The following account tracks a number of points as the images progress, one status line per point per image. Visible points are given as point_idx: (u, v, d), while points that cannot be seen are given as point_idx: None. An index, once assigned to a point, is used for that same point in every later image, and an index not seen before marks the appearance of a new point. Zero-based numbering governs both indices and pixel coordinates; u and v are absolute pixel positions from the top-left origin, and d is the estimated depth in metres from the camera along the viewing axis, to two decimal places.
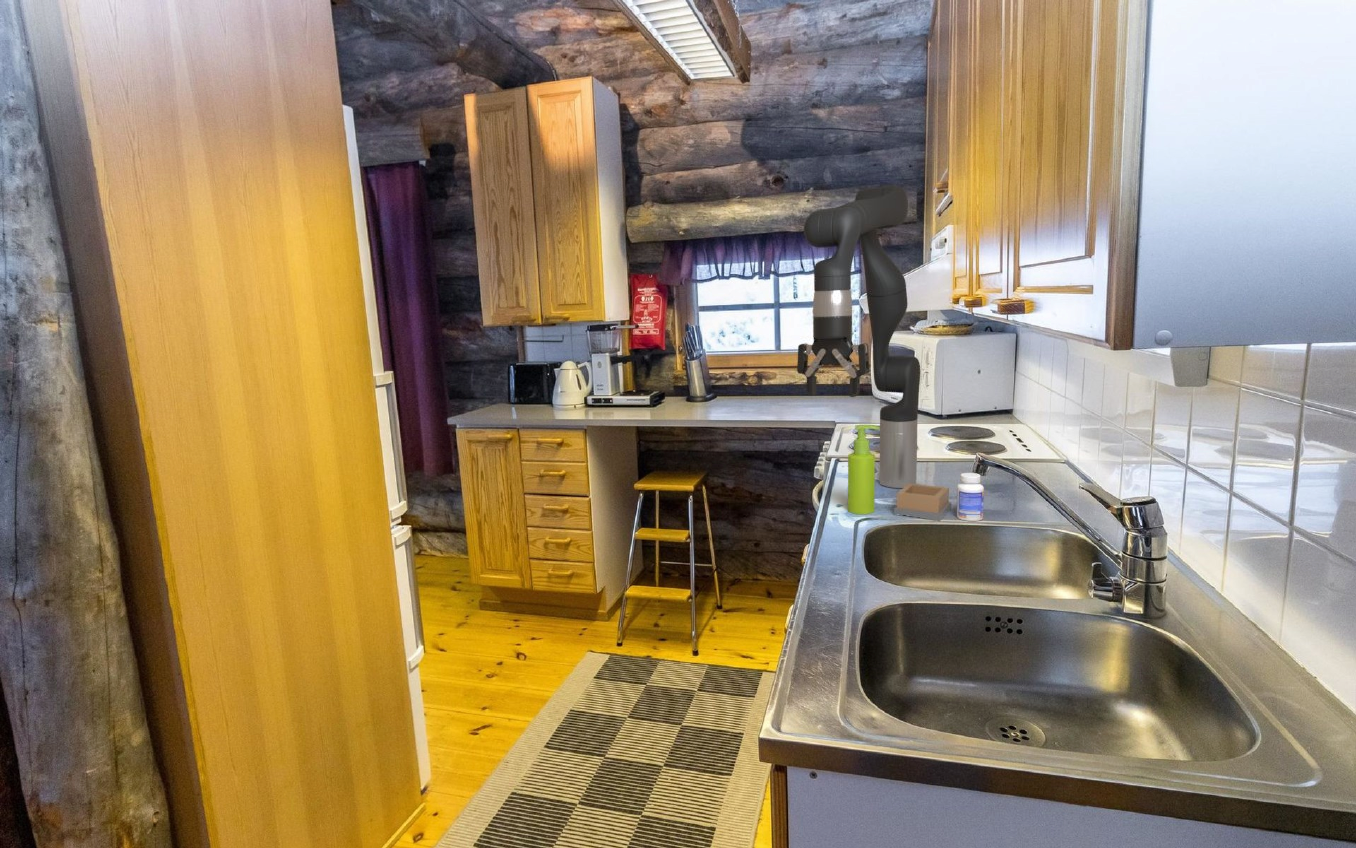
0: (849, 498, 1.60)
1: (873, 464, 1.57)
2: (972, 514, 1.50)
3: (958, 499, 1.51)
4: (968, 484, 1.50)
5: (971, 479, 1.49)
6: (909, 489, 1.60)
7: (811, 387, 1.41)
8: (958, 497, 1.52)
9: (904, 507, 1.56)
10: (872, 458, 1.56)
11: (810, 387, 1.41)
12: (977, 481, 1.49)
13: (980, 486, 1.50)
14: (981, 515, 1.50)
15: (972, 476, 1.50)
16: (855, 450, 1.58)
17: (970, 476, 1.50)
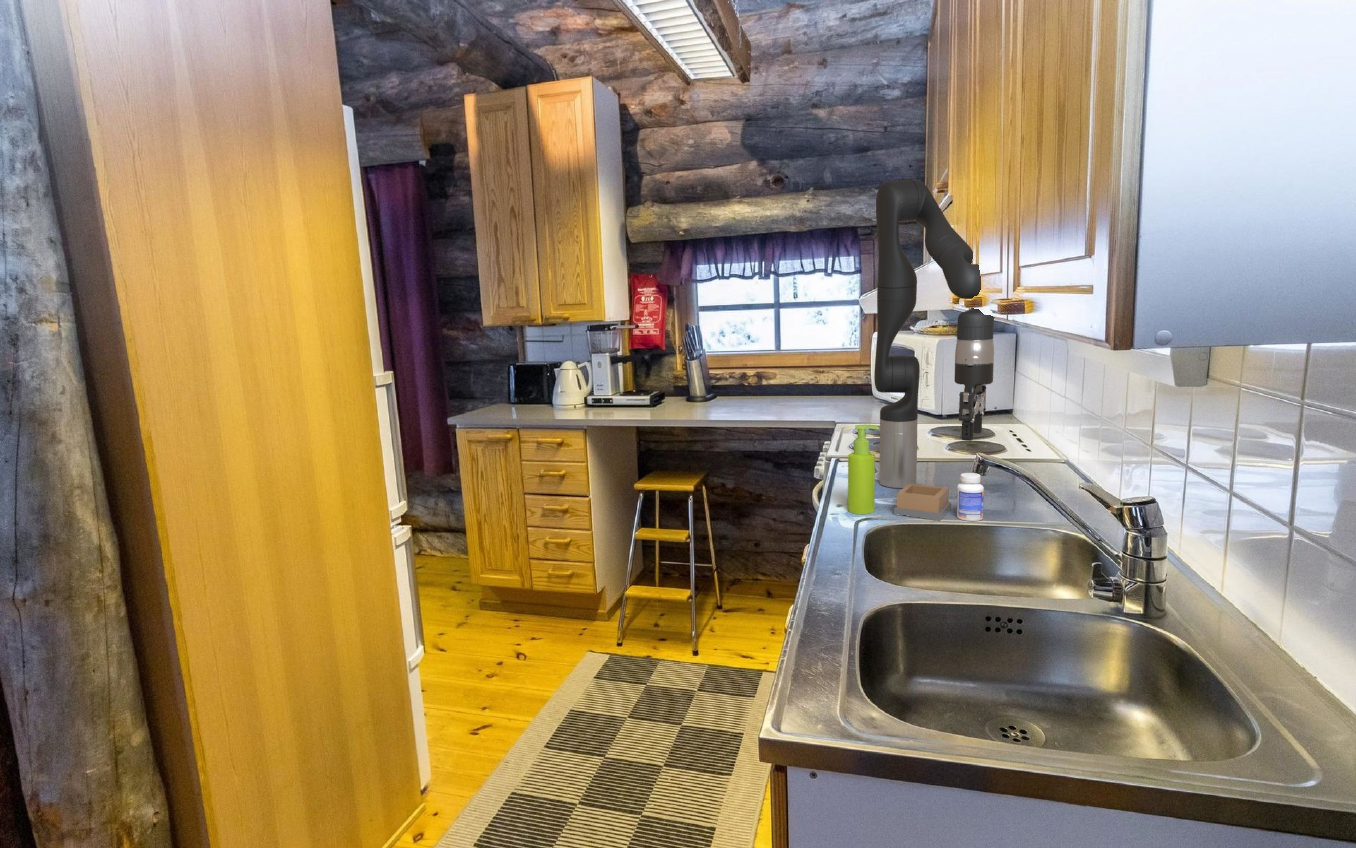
0: (849, 498, 1.60)
1: (873, 464, 1.57)
2: (972, 514, 1.50)
3: (958, 499, 1.51)
4: (968, 484, 1.50)
5: (971, 479, 1.49)
6: (909, 489, 1.60)
7: (973, 432, 1.45)
8: (958, 497, 1.52)
9: (904, 507, 1.56)
10: (872, 458, 1.56)
11: (973, 432, 1.45)
12: (977, 481, 1.49)
13: (980, 486, 1.50)
14: (981, 515, 1.50)
15: (972, 476, 1.50)
16: (855, 450, 1.58)
17: (970, 476, 1.50)
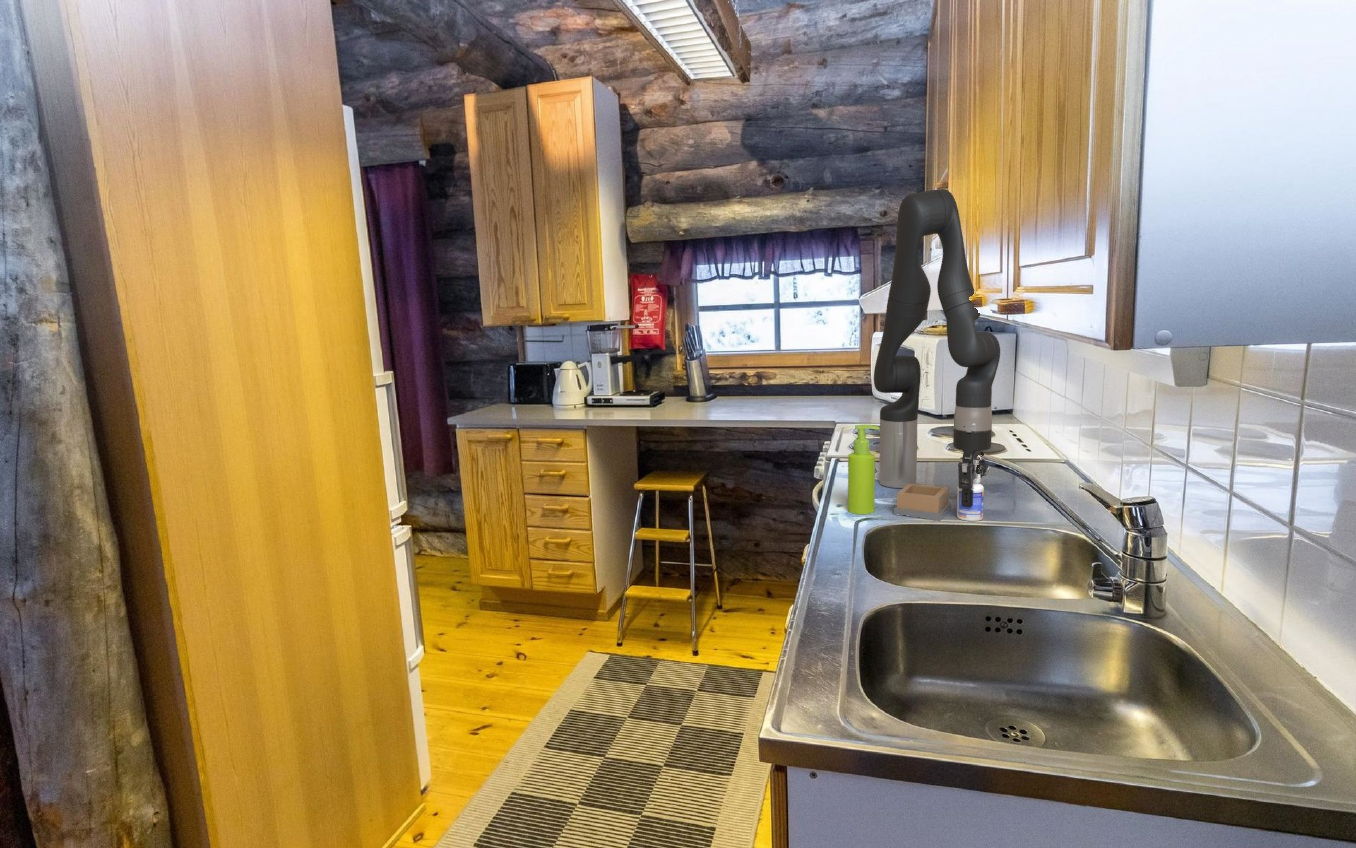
0: (849, 498, 1.60)
1: (873, 464, 1.57)
2: (972, 513, 1.50)
3: (958, 499, 1.51)
4: None
5: None
6: (909, 489, 1.60)
7: (972, 499, 1.49)
8: (958, 497, 1.52)
9: (904, 507, 1.56)
10: (872, 458, 1.56)
11: (972, 499, 1.49)
12: (977, 481, 1.49)
13: (980, 486, 1.50)
14: (981, 515, 1.50)
15: None
16: (855, 450, 1.58)
17: None
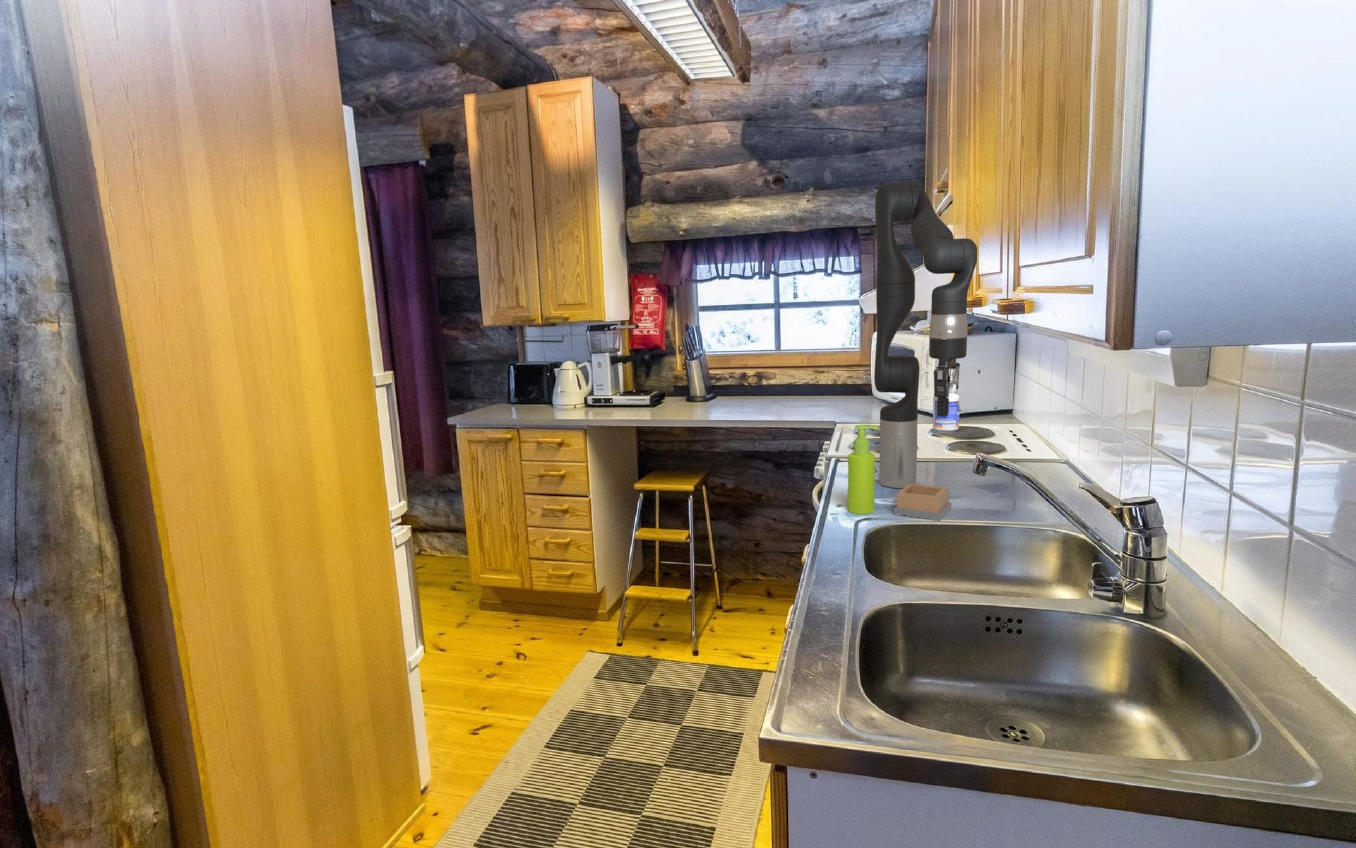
0: (849, 498, 1.60)
1: (873, 464, 1.57)
2: (948, 423, 1.50)
3: (934, 409, 1.51)
4: None
5: None
6: (909, 489, 1.60)
7: (948, 408, 1.49)
8: (934, 407, 1.52)
9: (904, 507, 1.56)
10: (872, 458, 1.56)
11: (948, 408, 1.49)
12: (953, 390, 1.49)
13: (956, 395, 1.50)
14: (957, 424, 1.50)
15: None
16: (855, 450, 1.58)
17: None
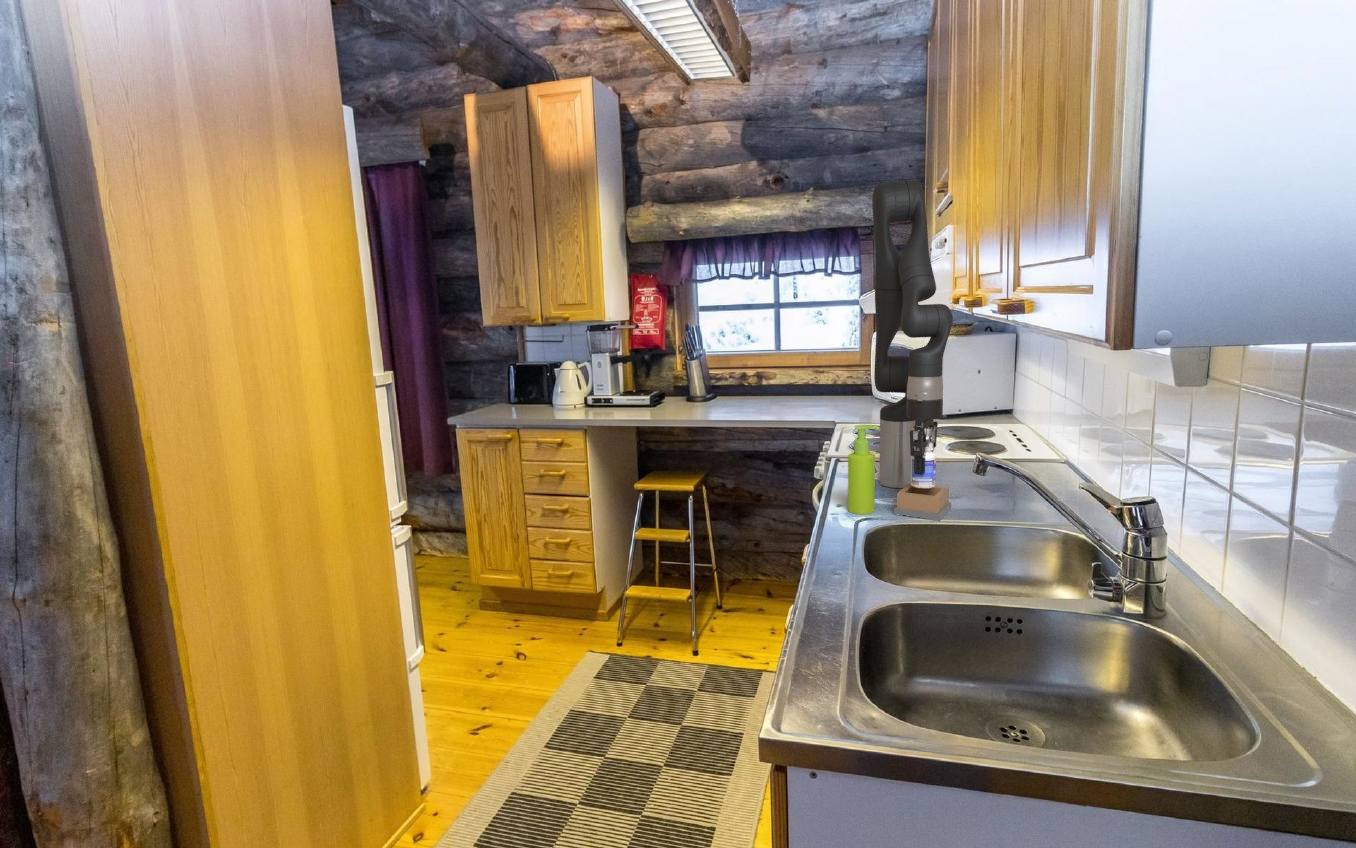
0: (849, 498, 1.60)
1: (873, 464, 1.57)
2: (924, 481, 1.54)
3: (911, 467, 1.56)
4: None
5: None
6: (909, 489, 1.60)
7: (924, 467, 1.53)
8: (911, 465, 1.56)
9: (904, 507, 1.56)
10: (872, 458, 1.56)
11: (924, 467, 1.53)
12: (929, 449, 1.54)
13: (932, 454, 1.54)
14: (933, 482, 1.55)
15: None
16: (855, 450, 1.58)
17: None
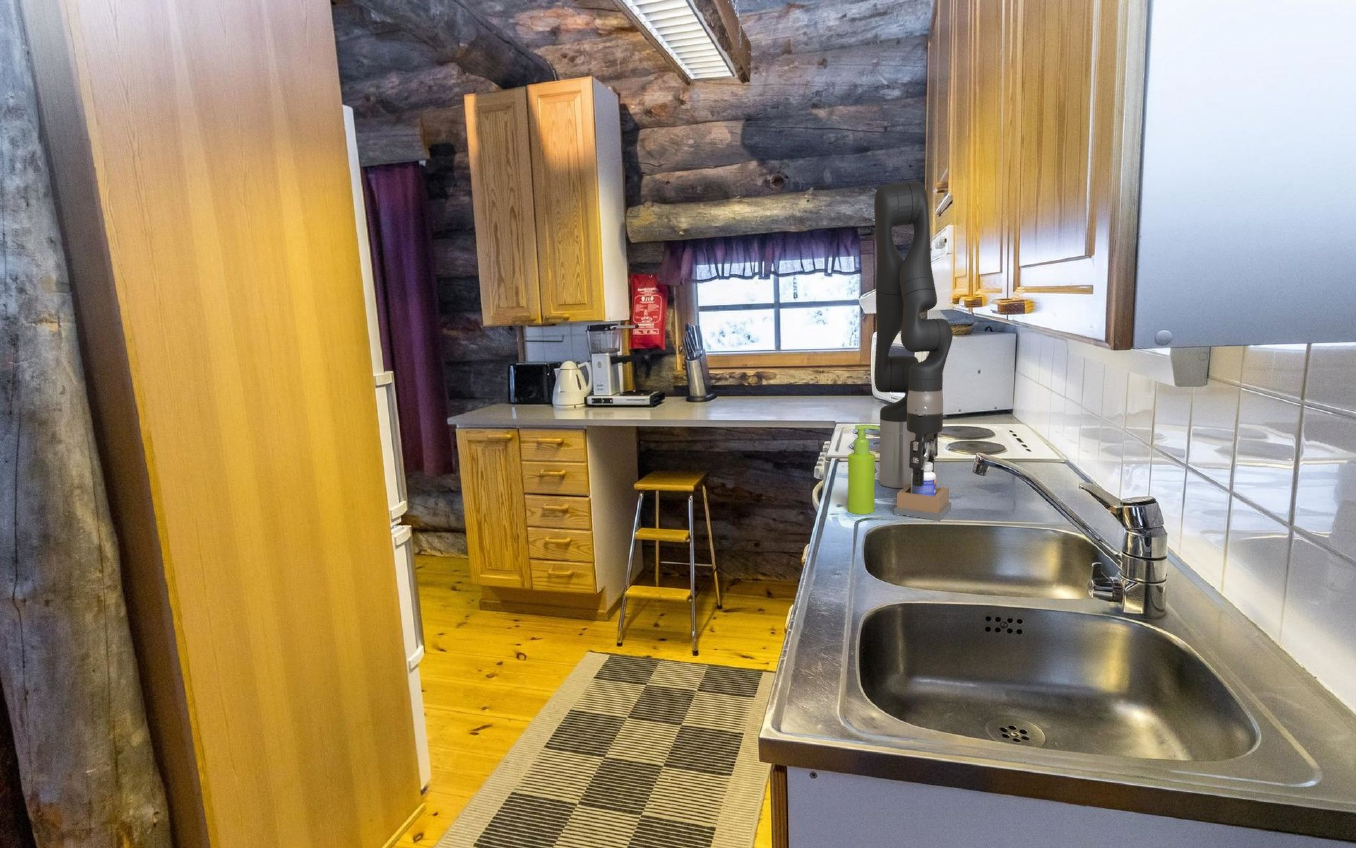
0: (849, 498, 1.60)
1: (873, 464, 1.57)
2: None
3: (911, 486, 1.57)
4: None
5: None
6: (909, 489, 1.60)
7: (923, 478, 1.53)
8: (911, 484, 1.57)
9: (904, 507, 1.56)
10: (872, 458, 1.56)
11: (923, 479, 1.52)
12: (929, 469, 1.55)
13: (932, 474, 1.55)
14: None
15: None
16: (855, 450, 1.58)
17: None
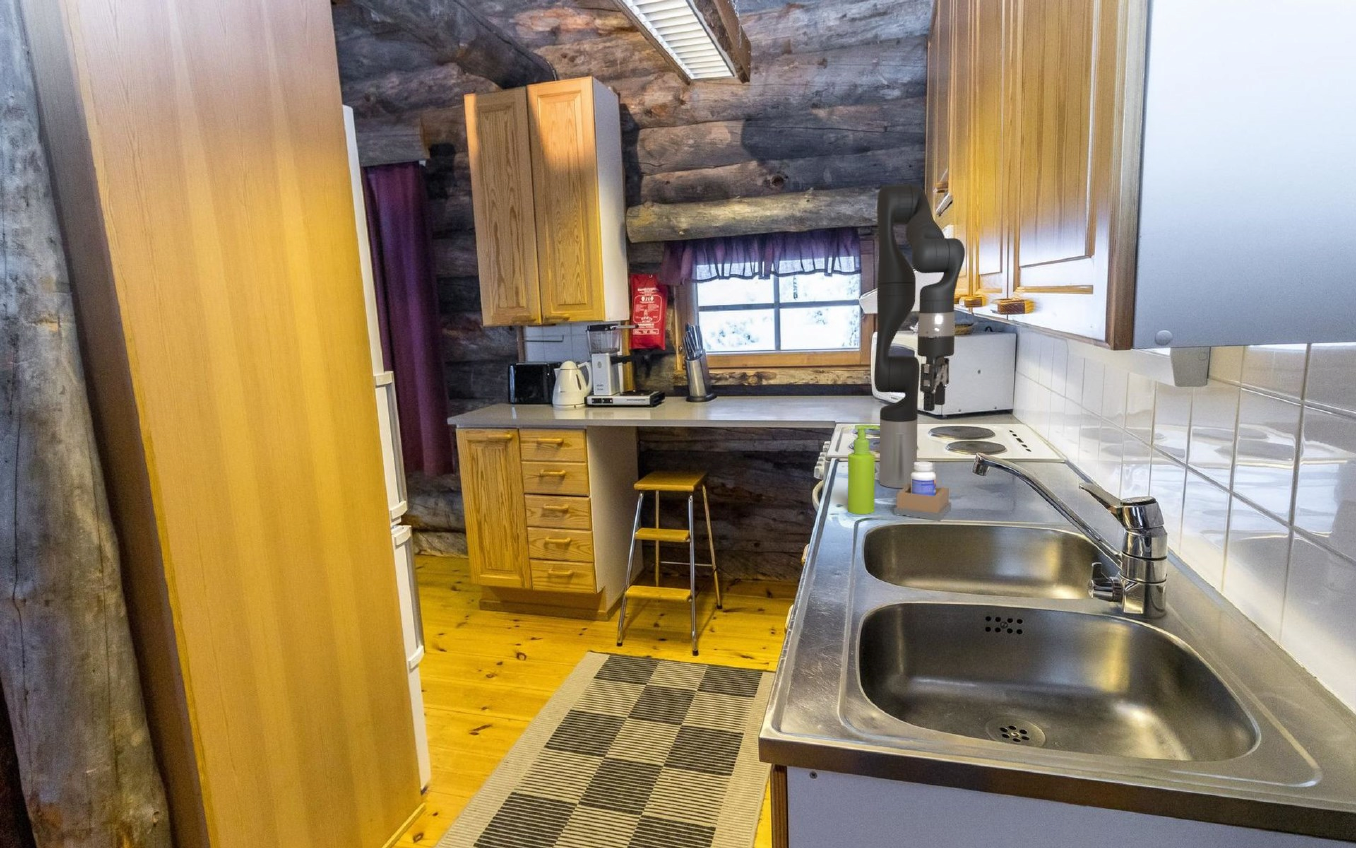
0: (849, 498, 1.60)
1: (873, 464, 1.57)
2: None
3: (911, 486, 1.57)
4: (921, 472, 1.55)
5: (923, 467, 1.55)
6: (909, 489, 1.60)
7: (934, 403, 1.50)
8: (911, 484, 1.57)
9: (904, 507, 1.56)
10: (872, 458, 1.56)
11: (934, 403, 1.49)
12: (929, 469, 1.55)
13: (932, 474, 1.55)
14: None
15: (924, 464, 1.55)
16: (855, 450, 1.58)
17: (922, 464, 1.55)
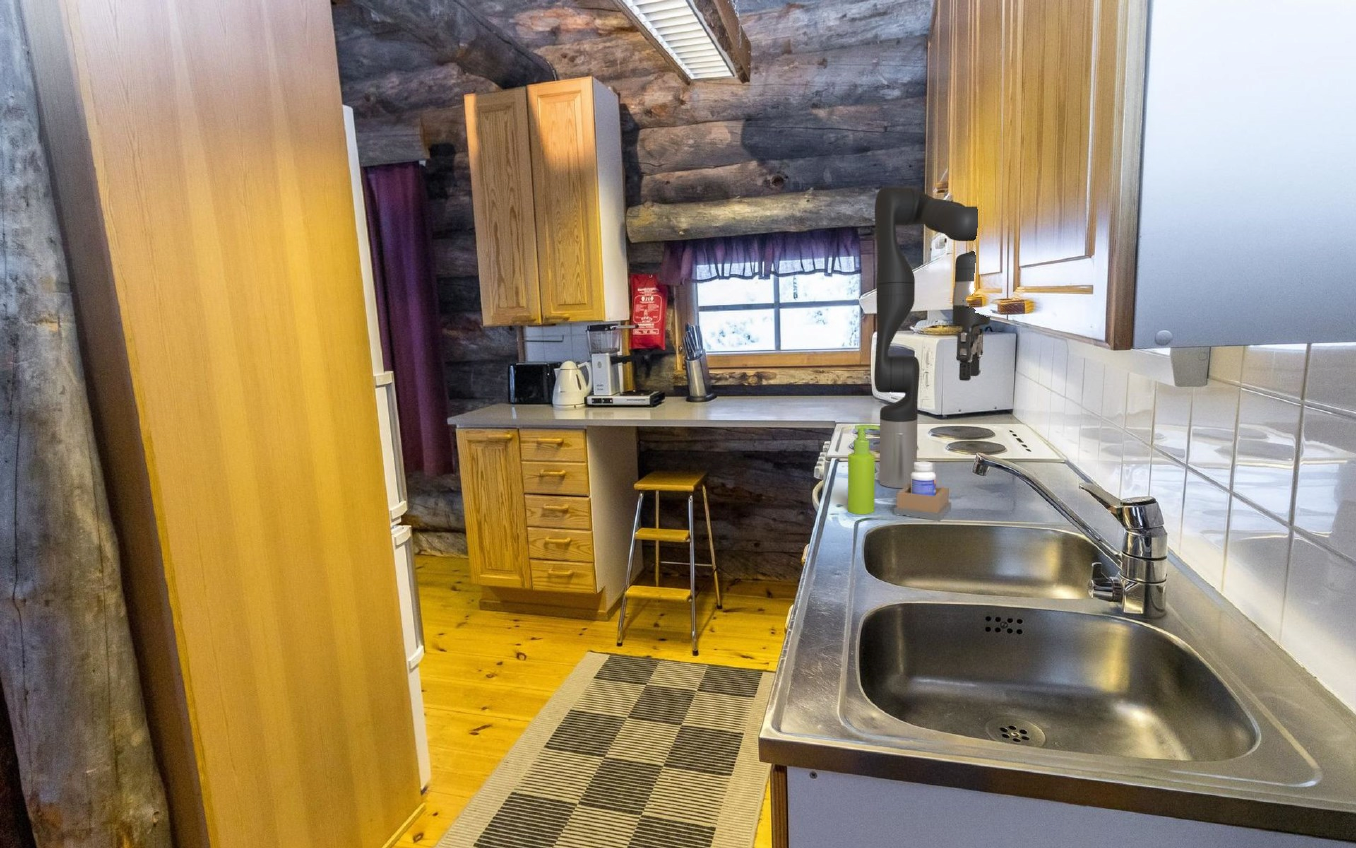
0: (849, 498, 1.60)
1: (873, 464, 1.57)
2: None
3: (911, 486, 1.57)
4: (921, 472, 1.55)
5: (923, 467, 1.55)
6: (909, 489, 1.60)
7: (970, 372, 1.48)
8: (911, 484, 1.57)
9: (904, 507, 1.56)
10: (872, 458, 1.56)
11: (970, 372, 1.48)
12: (929, 469, 1.55)
13: (932, 474, 1.55)
14: None
15: (924, 464, 1.55)
16: (855, 450, 1.58)
17: (922, 464, 1.55)
